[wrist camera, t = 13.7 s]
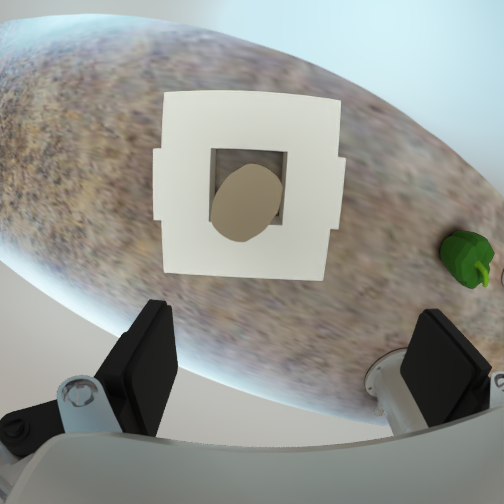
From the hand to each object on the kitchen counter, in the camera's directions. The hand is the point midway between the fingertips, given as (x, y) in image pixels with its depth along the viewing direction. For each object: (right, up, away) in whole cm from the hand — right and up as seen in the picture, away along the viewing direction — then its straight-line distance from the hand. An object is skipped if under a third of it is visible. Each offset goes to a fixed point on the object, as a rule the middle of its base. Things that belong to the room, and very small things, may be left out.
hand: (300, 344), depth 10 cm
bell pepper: (+31, +4, +30) cm, 43 cm away
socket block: (-2, +12, +27) cm, 29 cm away
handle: (-2, +12, +27) cm, 30 cm away
